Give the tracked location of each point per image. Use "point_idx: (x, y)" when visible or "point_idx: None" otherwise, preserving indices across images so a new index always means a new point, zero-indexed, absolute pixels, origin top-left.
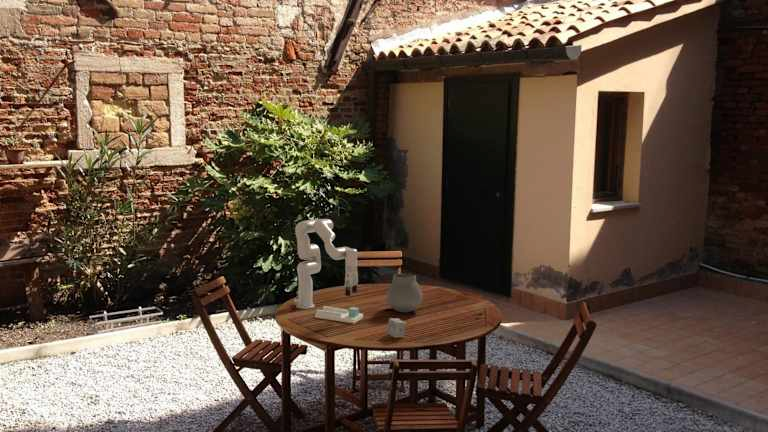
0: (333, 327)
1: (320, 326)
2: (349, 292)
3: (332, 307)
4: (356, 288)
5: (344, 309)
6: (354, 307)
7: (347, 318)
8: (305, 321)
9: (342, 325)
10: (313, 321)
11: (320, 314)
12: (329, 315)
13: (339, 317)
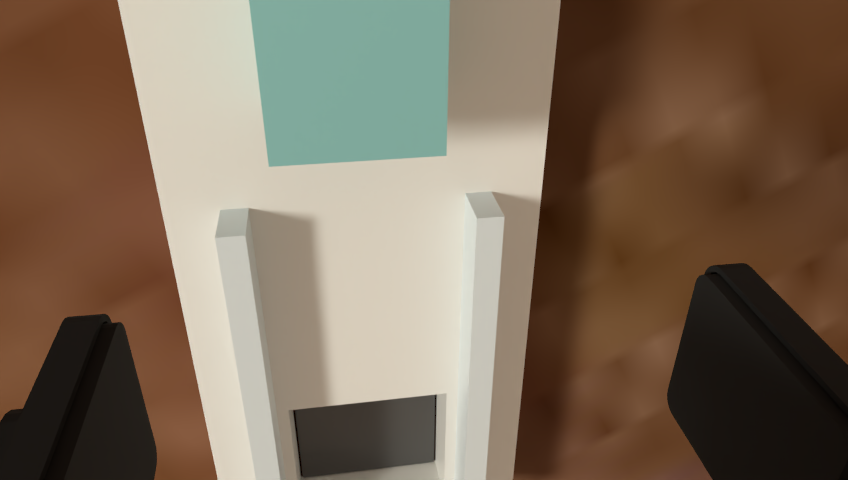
0: (830, 90)
1: (817, 251)
2: (822, 360)
3: (259, 473)
4: (51, 453)
5: (242, 294)
6: (277, 94)
7: (547, 48)
8: (674, 457)
9: (709, 19)
10: (649, 403)
11: (515, 448)
12: (508, 350)
13: (541, 192)
